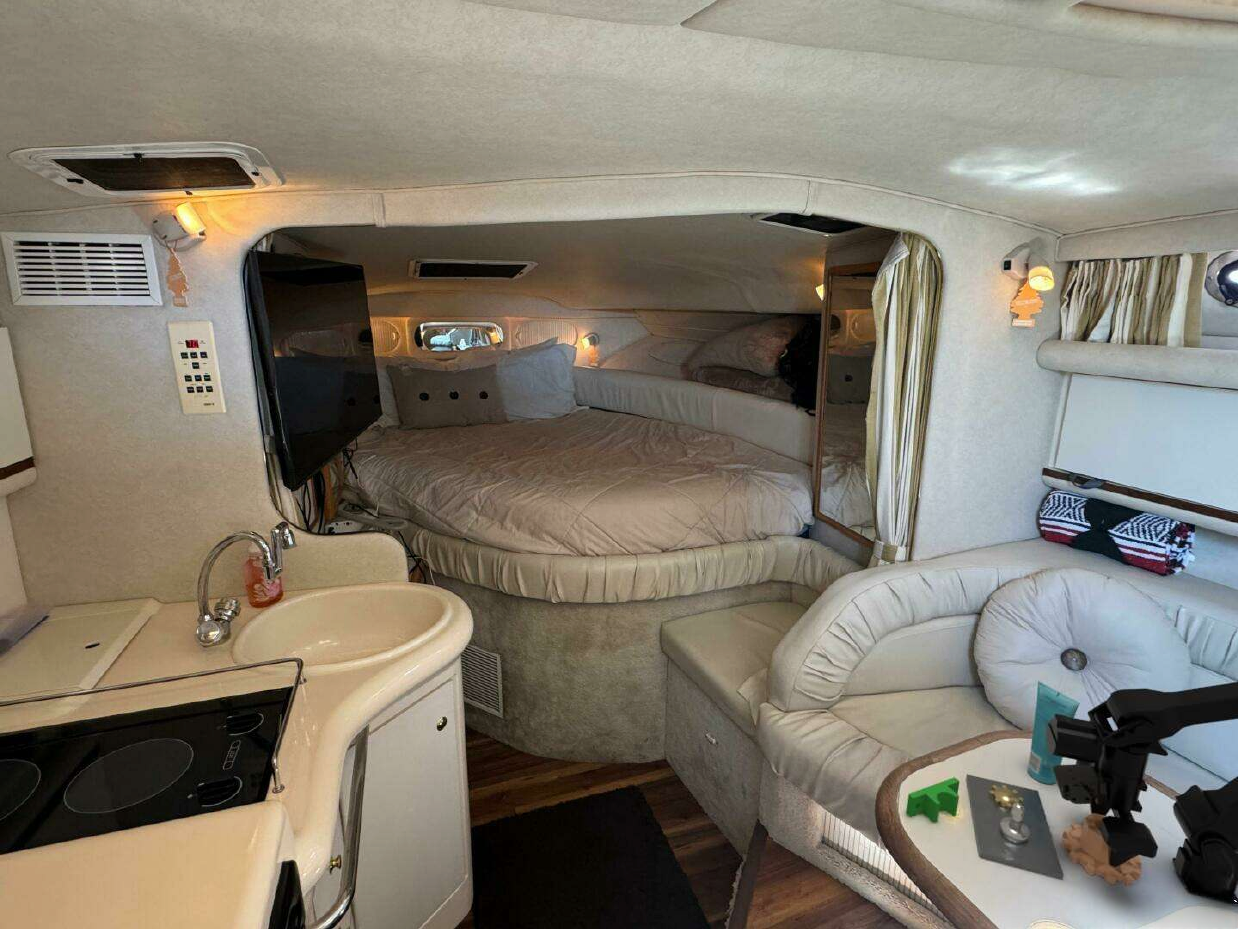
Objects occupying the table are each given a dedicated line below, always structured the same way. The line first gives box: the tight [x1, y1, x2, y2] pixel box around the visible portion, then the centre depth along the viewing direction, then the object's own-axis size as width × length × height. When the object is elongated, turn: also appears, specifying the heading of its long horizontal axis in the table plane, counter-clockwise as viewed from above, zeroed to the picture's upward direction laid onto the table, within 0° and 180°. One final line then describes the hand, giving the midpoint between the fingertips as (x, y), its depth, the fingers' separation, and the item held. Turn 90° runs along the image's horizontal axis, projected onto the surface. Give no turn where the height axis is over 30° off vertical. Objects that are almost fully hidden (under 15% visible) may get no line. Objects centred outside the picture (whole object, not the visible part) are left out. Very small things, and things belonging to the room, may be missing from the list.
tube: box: [1027, 681, 1080, 785], centre depth 121 cm, size 7×5×19 cm, turn 32°
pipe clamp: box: [905, 776, 960, 824], centre depth 115 cm, size 11×4×5 cm, turn 110°
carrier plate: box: [965, 773, 1065, 881], centre depth 112 cm, size 12×19×7 cm, turn 158°
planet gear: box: [1061, 813, 1143, 886], centre depth 105 cm, size 11×11×6 cm
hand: (1103, 842), depth 105 cm, fingers open, 9 cm apart
